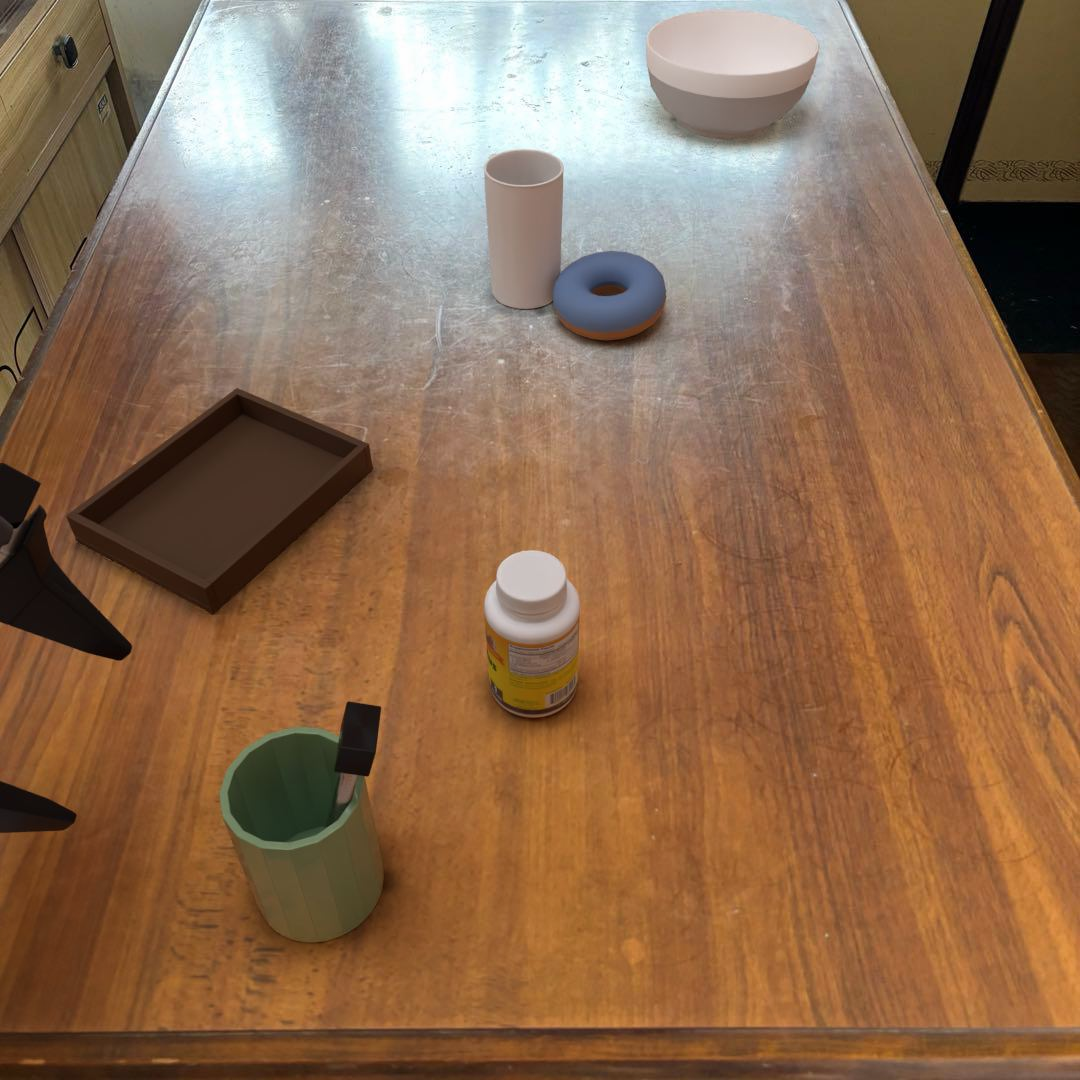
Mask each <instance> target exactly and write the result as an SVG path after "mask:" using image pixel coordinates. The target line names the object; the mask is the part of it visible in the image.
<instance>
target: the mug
mask: <svg viewBox="0 0 1080 1080" xmlns="http://www.w3.org/2000/svg"><path fill="white" fill-rule="evenodd" d="M564 170H565V165H564V163H563V161H562V160H561V159H560V158H559V157H557V156H556V155H554V154H552V153H549V152H546V151H543V150H538V149H529V148H526V149H525V148H519V149H510V150H505V151H501V152H499V153H492V154H489V156H488V159H487V160H486V161H485V162H484V165H483V173H484V174H483V175H484V197H485V198H484V199H485V210H486V225H487V241H488V256H489V257H488V258H489V259H488V260H489V271H490V283H491V284H490V285H491V293H492V296H493V297H494V299H495V300H496V301H498V302H499V303H500V304H502V305H504V306H505V307H509V308H513V309H519V310H520V309H522V310H528V309H530V310H531V309H537V308H542V307H544V306H547V305H549V304H550V303H552V302H553V288H554V285H555V283H556V280H557V278H558V276H559V274H560V273H561V266H562V262H561V261H562V234H563V233H562V232H563V231H562V230H563V204H564V203H563V202H564Z"/></svg>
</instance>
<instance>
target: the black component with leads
mask: <svg viewBox="0 0 1080 1080" xmlns="http://www.w3.org/2000/svg"><path fill="white" fill-rule="evenodd" d="M381 714H382V707H381V705H376V704H375V705H374V704H369V703H361V702H356V701H346V703H345V708H344V712H343V716H342V719H341V723H340V729H339V735H338V736H339V742H338V748H337V755H336V761H335V768H334V771H335V772H338V773H339V777H338V780H337V784H336V788H335V792H334V796H333V800H332V804H331V807H330V811H329V815H328V819H327V823H326V827H325V829H326V828H327V827H329V826H330V825H331V824H333V823H334V822H336V821H337V820H338V819H339V818H340V816H341V815H342V813H343V812H344V811H345V809H346V808H347V806H348V805H349V804H350V800H351V797H352V793H353V790H354V786H355V783H356V779H357V775H359V776H365V778H368V777H369V776H370V774H371V771H372V767H373V764H374V761H375V758H376V754H377V747H378V740H379V739H378V738H379V732H380V731H379V730H380V722H381Z"/></svg>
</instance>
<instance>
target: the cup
mask: <svg viewBox="0 0 1080 1080" xmlns="http://www.w3.org/2000/svg"><path fill="white" fill-rule="evenodd" d="M338 742H339V735H337V734H335V733H333V732H331V731H329V730H326V729H325V728H321V727H308V726H292V727H288V728H284V729H280V730H277V731H274V732H269V733H266V734H265V735H263V736H262V737H260V738H259V739H256V741H254V742H252V743H251V744H248V745H247V746H246V747H244V748H243V749H242V750H241V751H240V753H239V754H238V755H237V756H236V757H235V759H234V760H233V761H232V762H231V763H230V764H229V766H228V767H227V769H226V771H225V773H224V777H223V780H222V783H221V786H220V790H219V792H218V793H219V794H218V796H219V801H220V803H219V804H220V808H221V809H220V811H221V817H222V819H223V823H224V825H225V828H226V830H227V832H228V835H229V837H230V840H231V843H232V845H233V848H234V850H235V854H236V855H237V858H238V861H239V863H240V867H241V868H242V871H243V874H244V877H245V878H246V881H247V884H248V887H249V889H250V891H251V894H252V897H253V899H254V902H255V904H256V907H257V908H258V910H259V912H260V913H261V916H262V917H263V919H264V920H265V922H266V923H267V925H269V927H270V928H272V930H274V931H275V932H276V933H278V934H280V935H281V936H283V937H285V938H287V939H289V940H293V941H296V942H301V943H323V942H327V941H331V940H334V939H337V938H341V937H342V936H344V935H346V934H348V933H350V932H352V931H353V930H354V929H356V928H357V927H358V926H360V924H361V925H362V923H363V922H364V921H365V920H366V919H367V918H368V917H369V916H370V915H371V914H372V912H373V911H374V909H375V907H376V905H377V903H378V902H379V900H380V897H381V894H382V891H383V887H384V882H385V875H384V874H385V872H384V871H385V868H384V863H383V857H382V853H381V848H380V843H379V839H378V833H377V829H376V824H375V819H374V813H373V810H372V803H371V800H370V795H369V790H368V786H367V785H368V784H367V781H366V776H359V775H357V779H356V783H355V786H354V790H353V793H352V797H351V800H350V804H349V805H348V806H347V808H346V809H345V811H344V812H343V813H342V815H341V816H340V818H339V819H338V820H337V821H336V822H334V823H333V824H331V825H330V826H329V827H327V828H326V829H325V827H326V823H327V819H328V815H329V811H330V807H331V804H332V800H333V796H334V792H335V788H336V784H337V780H338V777H339V773H338V772H335V771H334V768H335V761H336V755H337V748H338Z"/></svg>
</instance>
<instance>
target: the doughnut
mask: <svg viewBox="0 0 1080 1080" xmlns="http://www.w3.org/2000/svg"><path fill="white" fill-rule="evenodd" d="M552 302H553V307H554V312H555V314H556V316H557V318H558V319H559V320H560V321H561V323H562V325H563V326H564V328H565V327H566V328H567V329H568V330H570V331H571V332H573V333H574V334H576V335H578V336H582V337H584V338H588V339H591V340H598V341H614V340H615V341H616V340H624V339H627V338H630V337H633V336H635V335H639V334H640V333H641V332H643V331H644V330H647V329H648V328H650V327H652V326H653V325H654V324H655V322H656V321H657V320H658V319H659V318H660V316H661V315H662V314H663V311H664V309H665V306H666V302H667V288H666V284H665V280H664V276H663V274H662V272H661V271H660V270H659V269H658V267H656V264H654V263H653V262H651V261H649V260H648V259H646V258H644V257H643V256H641V255H638V254H635V253H631V252H628V251H617V250H608V251H607V250H605V251H600V252H599V251H598V252H593V253H591V254H587V255H584V256H581V257H580V258H577V259H575V260H574V261H573V262H571V263H569V264H568V265H566V267H565V268H564V269H563V270H562V271H560V274H559V276H558V278H557V280H556V283H555V285H554V288H553V301H552Z"/></svg>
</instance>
